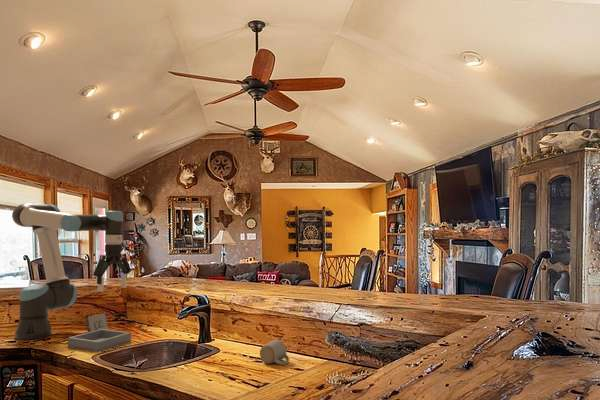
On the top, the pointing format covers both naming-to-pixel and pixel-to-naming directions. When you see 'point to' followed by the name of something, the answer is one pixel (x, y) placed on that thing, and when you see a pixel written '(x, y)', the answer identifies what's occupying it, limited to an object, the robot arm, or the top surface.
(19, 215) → the robot arm
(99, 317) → the electrical switch
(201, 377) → the top surface
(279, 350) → the ceramic mug
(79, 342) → the parts tray
